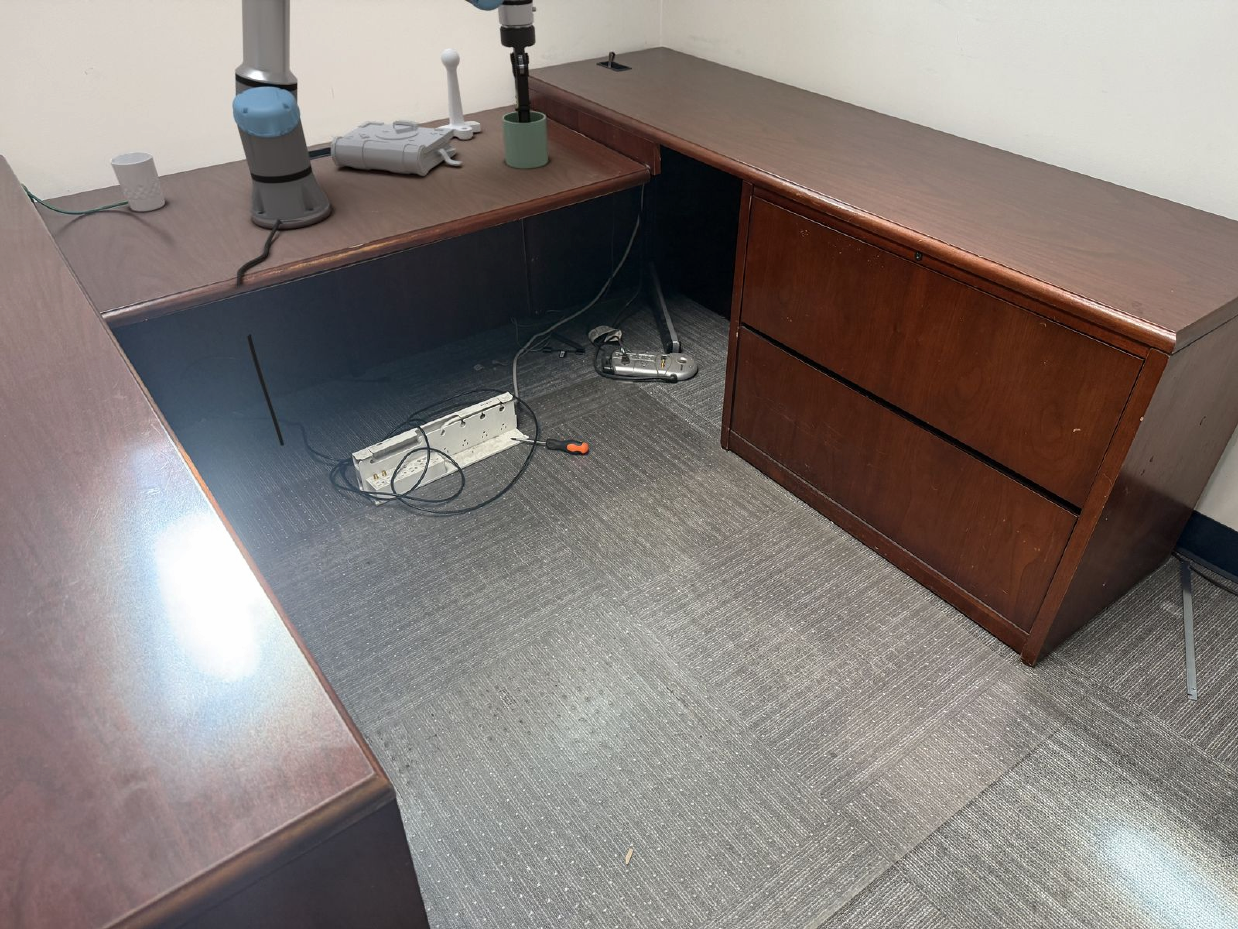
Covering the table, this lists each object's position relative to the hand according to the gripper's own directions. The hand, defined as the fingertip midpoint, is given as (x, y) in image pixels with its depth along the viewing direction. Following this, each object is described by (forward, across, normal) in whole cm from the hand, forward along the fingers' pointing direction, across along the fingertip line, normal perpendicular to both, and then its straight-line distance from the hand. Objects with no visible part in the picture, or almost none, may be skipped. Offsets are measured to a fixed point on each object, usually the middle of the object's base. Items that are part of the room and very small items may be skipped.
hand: (525, 136), depth 195 cm
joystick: (+6, +22, +15) cm, 27 cm away
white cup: (+6, -14, +81) cm, 82 cm away
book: (+6, +4, +28) cm, 29 cm away
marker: (+1, 0, 0) cm, 1 cm away
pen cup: (+6, 0, 0) cm, 6 cm away
